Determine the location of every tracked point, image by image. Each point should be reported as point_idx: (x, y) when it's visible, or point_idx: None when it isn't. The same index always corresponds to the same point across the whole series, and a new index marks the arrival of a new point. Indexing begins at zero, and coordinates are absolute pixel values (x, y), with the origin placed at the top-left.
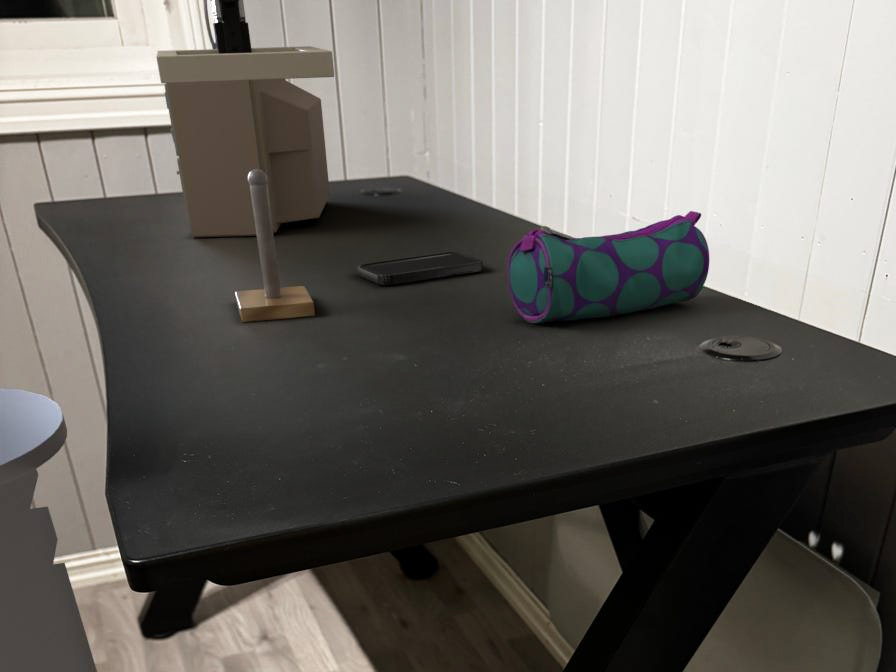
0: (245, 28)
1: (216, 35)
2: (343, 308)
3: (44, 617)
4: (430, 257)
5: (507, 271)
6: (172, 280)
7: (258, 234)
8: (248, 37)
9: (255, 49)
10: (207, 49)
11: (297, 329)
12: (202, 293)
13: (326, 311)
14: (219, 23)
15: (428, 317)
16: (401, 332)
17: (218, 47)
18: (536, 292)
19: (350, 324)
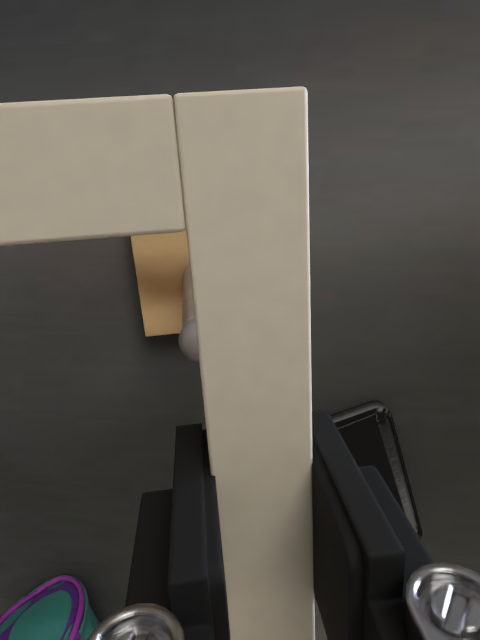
0: None
1: (171, 527)
2: (183, 370)
3: None
4: (403, 506)
5: (79, 608)
6: (477, 79)
7: (188, 291)
8: None
9: None
10: (284, 412)
11: (74, 302)
12: (352, 143)
13: (171, 346)
14: (176, 610)
15: (107, 473)
16: (34, 437)
17: (176, 483)
18: (17, 619)
19: (89, 376)
